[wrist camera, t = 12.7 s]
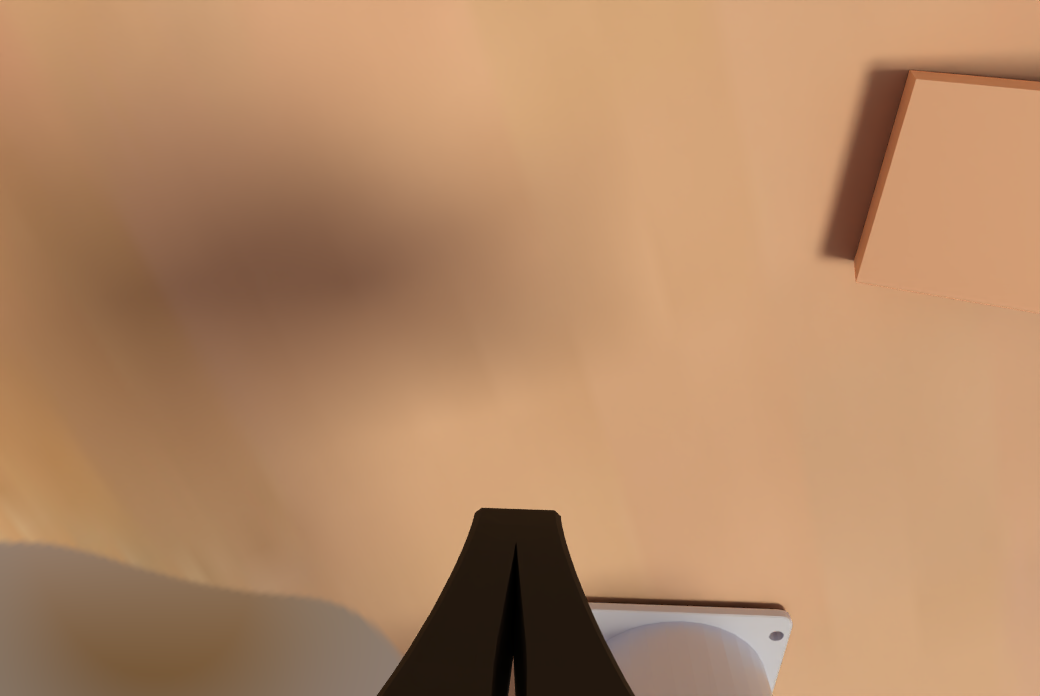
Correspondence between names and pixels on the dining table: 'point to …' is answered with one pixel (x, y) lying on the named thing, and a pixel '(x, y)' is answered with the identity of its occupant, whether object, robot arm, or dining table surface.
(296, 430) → the dining table surface
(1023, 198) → the terracotta domino
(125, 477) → the dining table surface
